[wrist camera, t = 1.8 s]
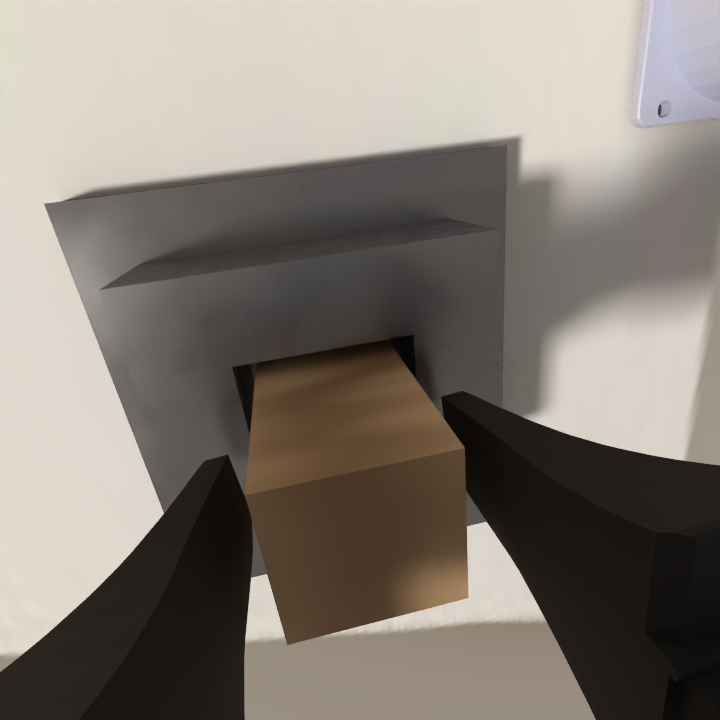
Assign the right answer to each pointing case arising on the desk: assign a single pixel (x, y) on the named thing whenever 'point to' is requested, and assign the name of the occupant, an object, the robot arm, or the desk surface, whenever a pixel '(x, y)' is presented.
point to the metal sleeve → (287, 291)
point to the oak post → (354, 490)
